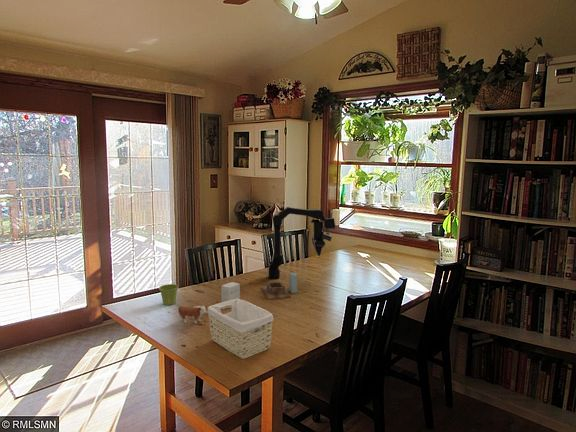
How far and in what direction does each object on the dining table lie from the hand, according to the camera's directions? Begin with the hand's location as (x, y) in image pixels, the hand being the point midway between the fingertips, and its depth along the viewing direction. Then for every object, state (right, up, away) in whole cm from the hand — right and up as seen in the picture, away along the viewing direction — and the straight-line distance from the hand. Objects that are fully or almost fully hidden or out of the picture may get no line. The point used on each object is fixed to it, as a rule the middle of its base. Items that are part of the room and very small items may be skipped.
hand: (318, 254), depth 250 cm
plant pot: (-79, -21, -46) cm, 94 cm away
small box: (-48, -21, -47) cm, 70 cm away
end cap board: (-26, -19, -28) cm, 42 cm away
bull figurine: (-61, -24, -69) cm, 95 cm away
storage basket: (-38, -28, -90) cm, 102 cm away
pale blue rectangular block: (-16, -18, -25) cm, 35 cm away
